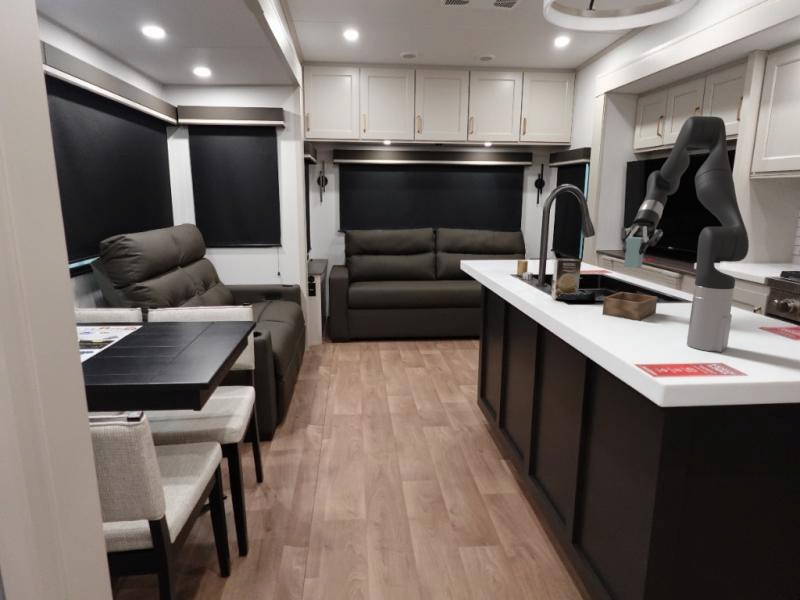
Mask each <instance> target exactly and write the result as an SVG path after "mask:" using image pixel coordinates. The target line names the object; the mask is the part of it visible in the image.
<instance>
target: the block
mask: <svg viewBox="0 0 800 600" xmlns="http://www.w3.org/2000/svg"><path fill="white" fill-rule="evenodd" d="M628 237H629V236H628ZM628 237H626V239H627V245H626V253H624V254H625V255H624V265H623V266H624V267H625V268H634V269H638V268H642V267H643V262H644V260H643V259H644V253H643V254H642V255H640V254H639V249H640V247H641V244H642V243H643V239H644V238H639V237H629V238H628Z"/></svg>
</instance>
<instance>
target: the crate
mask: <svg viewBox="0 0 800 600" xmlns="http://www.w3.org/2000/svg"><path fill="white" fill-rule="evenodd" d="M657 303H658V296H654V295H648V294H639V293H632V292H624V291H620V292H617V293H613V294H611V295H608V296H605V297H603V306H602V315H605V316H610V317H615V318H616V317H617V318H621V319H627V320H632V321H639V322H640V321H642V320H645V319H646V318H649V317H651V316H652V315H655V314H656V311H657ZM654 313H655V314H654Z"/></svg>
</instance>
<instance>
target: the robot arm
mask: <svg viewBox="0 0 800 600" xmlns="http://www.w3.org/2000/svg"><path fill="white" fill-rule="evenodd" d="M687 148H693V149H694V148H695V149H707V150H708V151H709V156H708V157H707V158H706V160H705V161H704V162H703V163H702V165H701V166H700V168H699V169H698V170H697V172H696V174H695V177H694V185H695V191H696V192H695V193H696V197H697V200H698V201H699V202H700V203H701V205H703V207H704V208H705V209H707V210H708V211H709V212H710V213H711V214H712V215H713V216H714V217H716V218H717V220H718V221H719V222H720V223H721V226H705V227H704V228H703V229H702V230H701V232H700V234H699V236H698V243H697V251H696V252H697V254H696V255H697V256H696V265H695V280H694V288H693V293H692V295H693V296H692V302H691V303H692V304H691V309H690V316H689V317H690V318H689V324H688V325H689V326H688V332H687V337H686V339H687V340H686V344H687V346H689V347H690V348H694V349H696V350H701V351H707V352H708V351H709V352H718V353H722V352H724V351H725V350H726V349H727V348H728V344H729V338H730V330H731V324H732V319H733V315H732V314H731V311H732V304H733V298H734V291H735V286H736V277H734V276H733V275H730V274H727V273H725V272H722V271H720V270H719V269H717V268H716V267H715V262H726V263H732V262H735V263H737V262H741V261H743V260H744V259H746V257H747V255H748V253H749V248H750V245H749V243H750V242H749V236H748V231H747V227H746V226H745V223H744V220H743V216H742V214H741V209H740V207H739V203H738V199H737V195H736V188H735V182H734V178H733V177H734V176H733V173H732V169H731V164H730V159H729V154H728V144H727V132H726V124H725V121H724V119H723V118H721V117H720V116H702V115H695V116H693V115H692V116H690V117H688V118H686V120H685V122H684V123H683V125H682V126H681V129H680V131H679V133H678V135H677V137H676V140H675V142H674V145H673V147H672V149H671V152H670V155H669V156H668V157H667V159H666V161H665V162H664V163H663V165H662V166H661V167H660V170H659V169H658V170H655V171H652V172H650V174H649V176H648V179H647V181H646V194H645V197H644V200H643V202H642V204H641V205H640V207H639V209H638V211H637V214H636V216H635V218H634V220H633V222H632V223H633V224H632V225H631V226H630V227H628V228H626V227H625V226H624V227H621V228H620V229H621V232H620V233H621V234H620V240H621V243H622V245H623V247H622V251H623V253H624V254H626V245H627V238H629V237H639V238H644V239H643V243H642V244H641V247H640V249H639V254H640V255H642V254H643V255H644V254H645V253H646V250H647V248H648V247H649V246H651V247H654V246H655V245H656V244H657V243H658V242H659V240H660V239H661V238H663V234H664V232H663V230H662V229H661V228H658V229H657V226H658V225H659V221H660V220H661V218H662V215H663V210H664V208H665V206H666V203H667V200H668V196H672V195H674V194H675V193H676V192H677V190H678V189H679V186H680V182H681V177H682V176H683V174H684V173H685V172H686V170H687V169H688V168H689V165H690V161H691V160H690V159H691V158H690V155H689V153H688V151H687ZM628 234H629V235H628ZM651 236H652V237H651ZM650 237H651V238H650Z"/></svg>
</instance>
